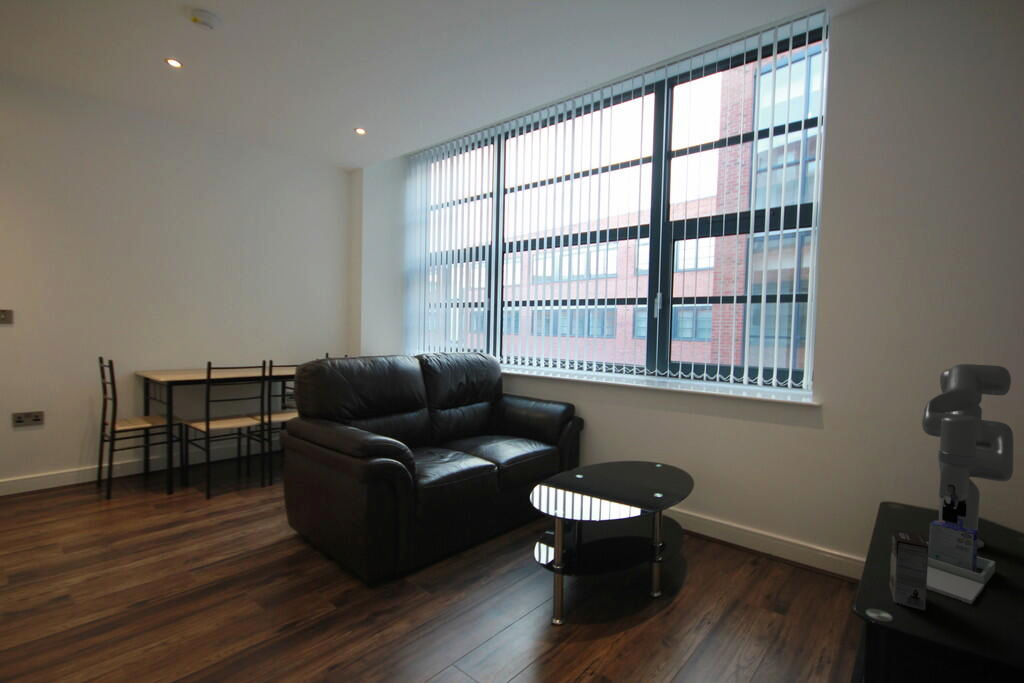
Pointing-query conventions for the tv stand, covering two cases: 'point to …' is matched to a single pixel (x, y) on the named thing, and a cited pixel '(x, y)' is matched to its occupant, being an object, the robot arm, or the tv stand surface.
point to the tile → (953, 585)
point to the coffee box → (909, 568)
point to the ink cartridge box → (953, 544)
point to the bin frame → (981, 563)
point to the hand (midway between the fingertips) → (954, 518)
